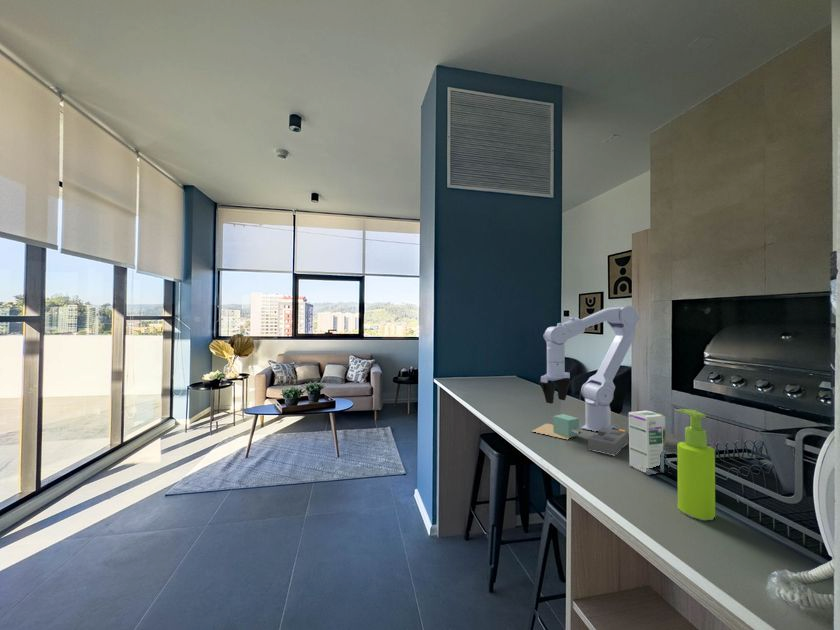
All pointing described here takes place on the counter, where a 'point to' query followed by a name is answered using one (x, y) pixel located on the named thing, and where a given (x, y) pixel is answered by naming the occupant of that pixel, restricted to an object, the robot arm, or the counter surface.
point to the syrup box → (646, 439)
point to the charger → (566, 425)
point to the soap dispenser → (696, 470)
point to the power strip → (608, 440)
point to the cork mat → (548, 431)
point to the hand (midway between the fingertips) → (555, 401)
